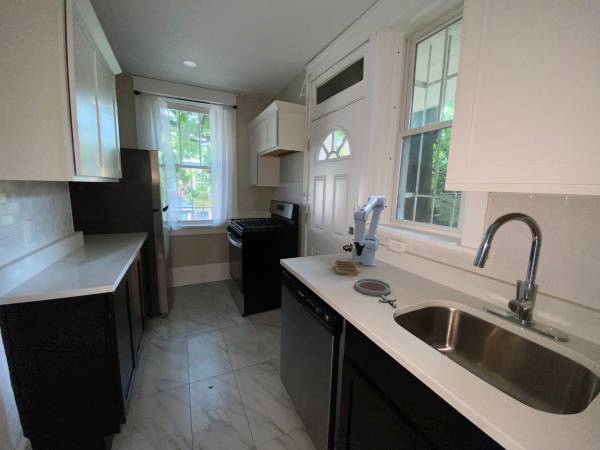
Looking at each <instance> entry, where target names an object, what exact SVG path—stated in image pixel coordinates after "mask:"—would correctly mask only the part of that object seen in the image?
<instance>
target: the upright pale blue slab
mask: <svg viewBox="0 0 600 450" xmlns="http://www.w3.org/2000/svg"><path fill="white" fill-rule="evenodd" d="M366 252H367V250H366V249H363V250H362V254H361V256H357V252H356V248H355V247H354V248H353V247H351V253H350V254H351V257H350V258H351V259H350V261H351V262H361V261H363V262H366Z"/></svg>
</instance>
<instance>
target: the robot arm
mask: <svg viewBox="0 0 600 450" xmlns="http://www.w3.org/2000/svg"><path fill="white" fill-rule="evenodd" d="M386 203H387V198H386V196H385V195H375V194H374V195H372V194H370V195H369V196H368V198H367V202H366V203H365V204H364V205H363V206H361V207H360V209H358V210H356V211H355V212H354V215H353V219H354V224H355V225H354V238H352V242H353V245H354V248H356V252H357V256H361V254H362V250H363V249H366V250H367V252H366V262H363V261H360V263H362V266H370V267H371V266H372V267H373V266H374V267H376V266H377V264H376V263H375V261H376V252H377V251H379V247H380V239H379V237H378V236H377V231H378V226H379V222H380V219H381V213H382V211H384V210H385V208H386ZM371 212H372V216H371V219H370V223H369V228H368V233H367V234H366V225H367V221H368V219H369V215H370V214H371Z"/></svg>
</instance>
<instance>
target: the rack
mask: <svg viewBox="0 0 600 450" xmlns="http://www.w3.org/2000/svg"><path fill="white" fill-rule="evenodd" d="M334 267H335V272H336V275H345V276H346V275H347V276H357V275H358V271H357V268H356V266H355V263H354V261H351V260H350V261H345V260H336V261H335V263H334Z"/></svg>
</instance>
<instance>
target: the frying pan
mask: <svg viewBox="0 0 600 450" xmlns="http://www.w3.org/2000/svg"><path fill="white" fill-rule="evenodd" d="M354 286H355V289H356V290H357V291H359V292H361V293H362V294H365V295H368V296H369V295H370V296H374V297H375V296H376V297H377V296H378V297H379V296H380V297H381V298H383V299H378V302H380V303H389V304H390V305H392V307H393V309H394V308H395V309H396V308H397V304H396V303H394V302H396V301H397V298H394V299H389V298H388V297H387V296H386V295H388V294H389V293H390V292H392V286H391V284H390V283H388V282H387V281H385V280H381V279H378V278H371V277H370V278H369V277H368V278H367V277H364V278H359V279H357V280H356V281H355V282H354Z"/></svg>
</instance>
